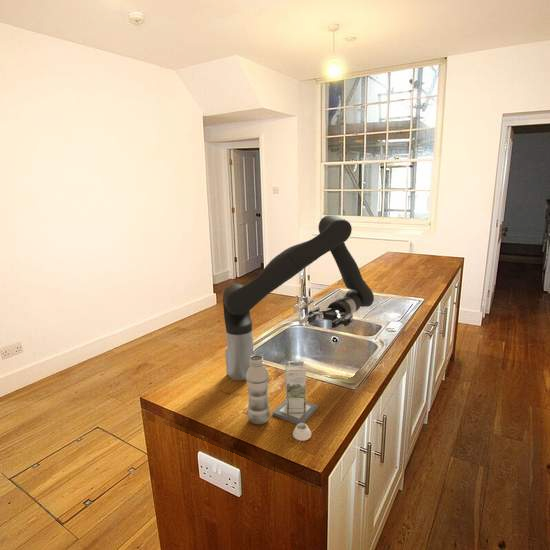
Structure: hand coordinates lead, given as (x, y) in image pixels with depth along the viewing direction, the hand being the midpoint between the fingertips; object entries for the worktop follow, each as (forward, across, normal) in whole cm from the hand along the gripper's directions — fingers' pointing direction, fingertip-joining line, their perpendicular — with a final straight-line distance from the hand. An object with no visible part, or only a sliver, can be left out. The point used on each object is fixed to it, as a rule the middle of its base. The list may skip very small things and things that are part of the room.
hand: (320, 322), depth 124 cm
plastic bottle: (+26, -6, +24) cm, 36 cm away
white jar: (+25, +8, +24) cm, 35 cm away
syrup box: (+17, +1, +22) cm, 28 cm away
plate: (+17, +1, +23) cm, 29 cm away
